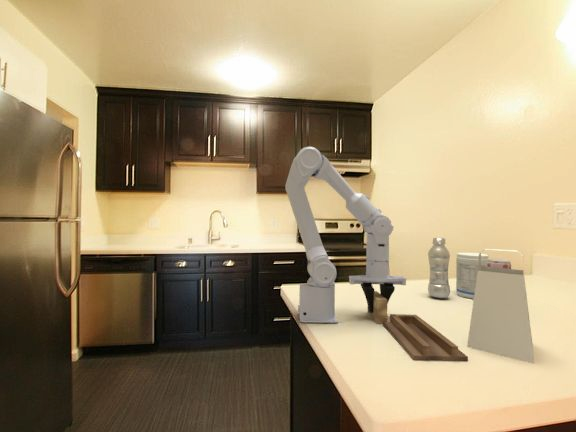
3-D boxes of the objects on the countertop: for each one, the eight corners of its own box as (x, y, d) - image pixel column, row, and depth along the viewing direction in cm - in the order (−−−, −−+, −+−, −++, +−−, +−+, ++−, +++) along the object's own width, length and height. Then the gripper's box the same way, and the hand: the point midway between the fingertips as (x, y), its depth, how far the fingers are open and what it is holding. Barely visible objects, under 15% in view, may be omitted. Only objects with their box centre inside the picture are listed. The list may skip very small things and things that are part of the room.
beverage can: (500, 315, 80) (500, 261, 80) (481, 309, 85) (482, 258, 85) (516, 314, 81) (516, 260, 81) (496, 308, 87) (496, 258, 87)
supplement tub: (462, 291, 107) (462, 251, 107) (492, 297, 100) (493, 254, 100) (451, 295, 101) (451, 253, 101) (483, 301, 94) (483, 256, 94)
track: (413, 360, 54) (413, 345, 54) (382, 324, 72) (382, 314, 72) (467, 361, 54) (467, 346, 54) (423, 325, 72) (423, 314, 72)
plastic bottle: (453, 301, 94) (453, 239, 94) (430, 299, 95) (431, 238, 95) (446, 296, 100) (446, 238, 100) (425, 294, 101) (425, 237, 101)
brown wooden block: (376, 323, 72) (377, 299, 72) (367, 312, 81) (367, 290, 81) (387, 324, 72) (387, 299, 72) (376, 312, 81) (376, 290, 81)
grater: (474, 332, 68) (474, 246, 68) (532, 344, 61) (533, 250, 61) (467, 346, 60) (467, 249, 60) (533, 363, 53) (534, 254, 53)
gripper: (399, 258, 81) (398, 307, 81) (347, 257, 81) (346, 306, 81) (409, 262, 74) (409, 315, 74) (352, 261, 74) (351, 314, 74)
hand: (376, 311), depth 77 cm, fingers closed on brown wooden block, 3 cm apart
